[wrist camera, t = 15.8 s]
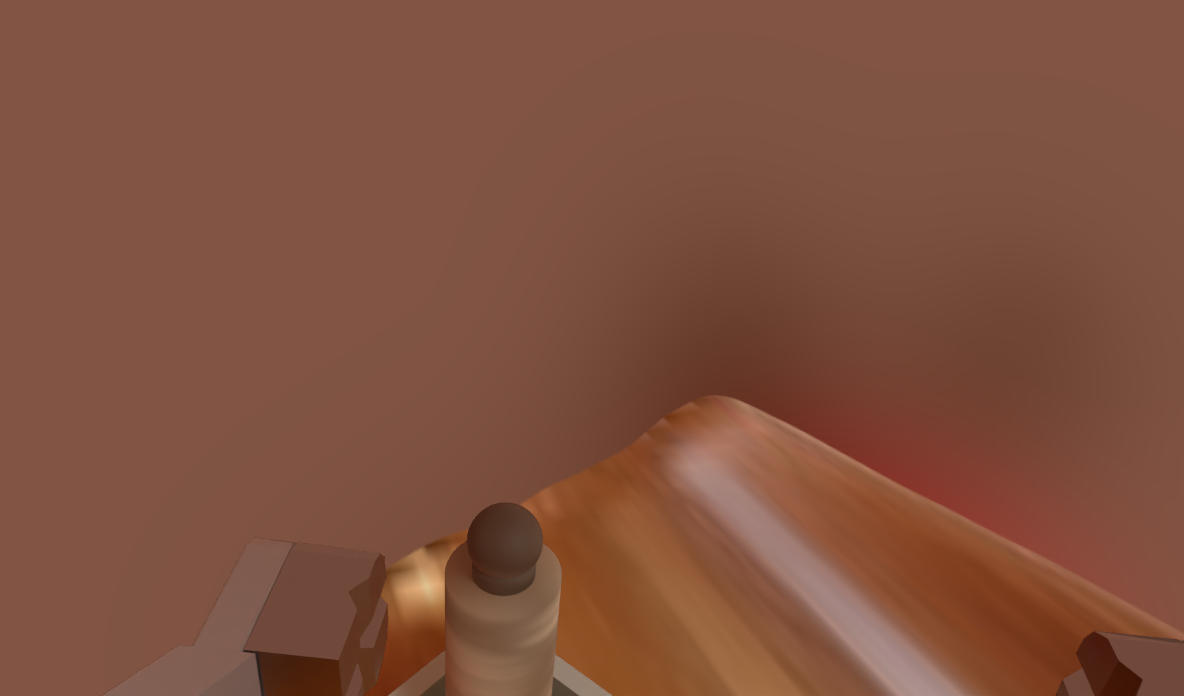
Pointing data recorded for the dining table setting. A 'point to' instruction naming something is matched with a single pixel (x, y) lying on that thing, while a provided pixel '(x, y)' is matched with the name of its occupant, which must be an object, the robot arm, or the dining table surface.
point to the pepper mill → (501, 607)
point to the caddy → (428, 684)
